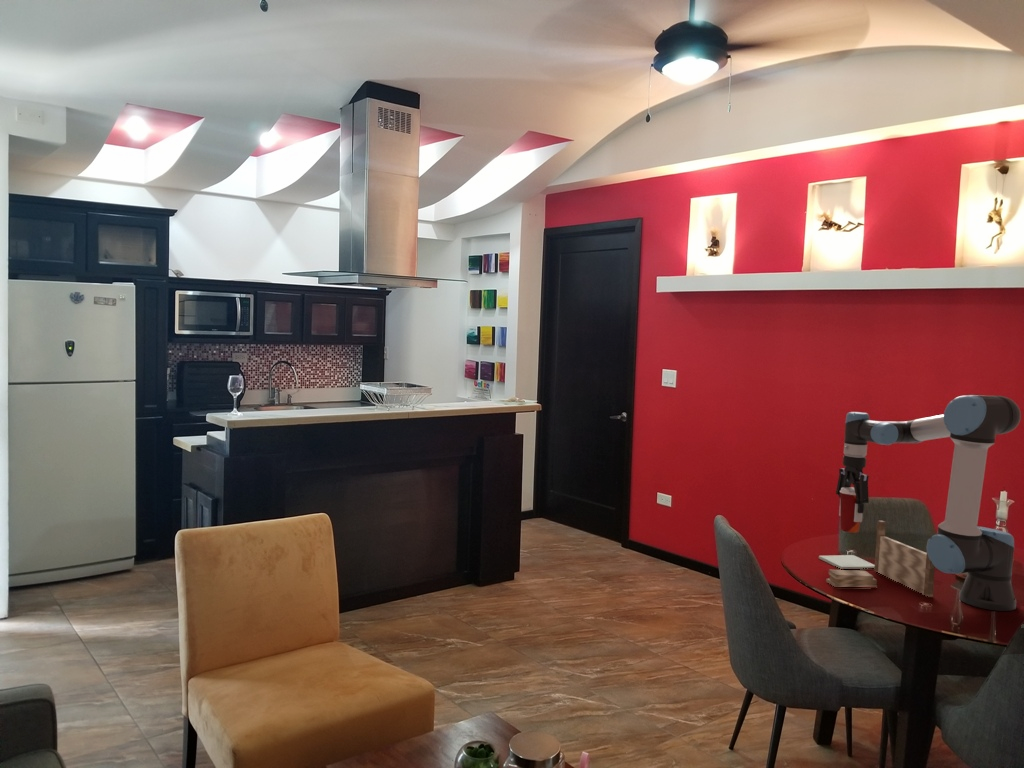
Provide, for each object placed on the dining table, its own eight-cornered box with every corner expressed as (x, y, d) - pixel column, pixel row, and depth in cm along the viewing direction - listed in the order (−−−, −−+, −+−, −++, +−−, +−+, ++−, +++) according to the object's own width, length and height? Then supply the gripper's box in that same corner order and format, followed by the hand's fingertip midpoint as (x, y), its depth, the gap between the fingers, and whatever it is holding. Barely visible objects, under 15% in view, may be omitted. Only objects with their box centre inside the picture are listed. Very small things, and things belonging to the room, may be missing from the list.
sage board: (877, 569, 278) (877, 566, 278) (841, 569, 275) (841, 567, 275) (853, 557, 292) (853, 555, 292) (818, 558, 289) (818, 555, 289)
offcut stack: (834, 588, 255) (835, 575, 254) (825, 582, 261) (826, 569, 261) (877, 589, 255) (878, 576, 255) (867, 583, 262) (868, 570, 262)
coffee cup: (863, 534, 278) (866, 492, 277) (837, 531, 280) (840, 489, 279) (860, 529, 285) (863, 488, 284) (836, 526, 288) (839, 485, 287)
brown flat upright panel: (932, 596, 249) (936, 540, 248) (927, 597, 249) (931, 540, 248) (878, 571, 275) (882, 520, 274) (874, 571, 274) (877, 520, 273)
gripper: (828, 450, 291) (823, 512, 292) (863, 460, 270) (859, 526, 272) (846, 451, 292) (842, 511, 294) (883, 460, 271) (878, 526, 273)
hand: (850, 518), depth 283 cm, fingers closed on coffee cup, 8 cm apart
